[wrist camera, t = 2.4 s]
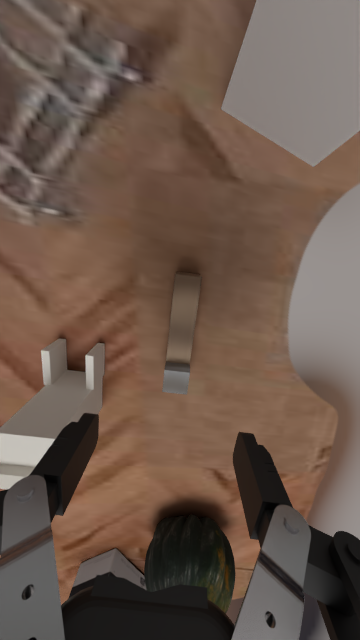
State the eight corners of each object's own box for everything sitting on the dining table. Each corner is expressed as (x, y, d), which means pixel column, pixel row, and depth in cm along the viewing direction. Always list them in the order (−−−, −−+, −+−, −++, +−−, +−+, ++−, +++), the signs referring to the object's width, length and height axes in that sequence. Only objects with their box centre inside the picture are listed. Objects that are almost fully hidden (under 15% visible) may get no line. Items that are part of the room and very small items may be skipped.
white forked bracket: (54, 337, 31) (-35, 394, 18) (109, 344, 31) (58, 404, 18) (58, 402, 34) (-16, 487, 21) (108, 407, 34) (64, 495, 22)
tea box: (157, 583, 47) (146, 723, 33) (121, 597, 49) (96, 735, 35) (116, 545, 44) (83, 683, 30) (79, 561, 46) (32, 698, 32)
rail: (176, 271, 28) (174, 275, 22) (199, 274, 28) (203, 279, 22) (166, 370, 32) (161, 395, 26) (185, 372, 32) (186, 397, 26)
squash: (252, 585, 38) (243, 682, 25) (178, 601, 41) (135, 696, 28) (219, 489, 44) (198, 526, 31) (157, 509, 47) (115, 551, 34)
